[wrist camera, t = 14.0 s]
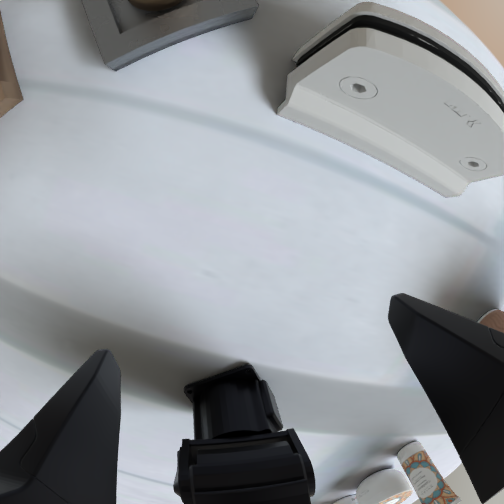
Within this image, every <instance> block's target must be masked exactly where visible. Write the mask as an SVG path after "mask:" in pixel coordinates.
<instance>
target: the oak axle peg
mask: <svg viewBox="0 0 504 504" xmlns="http://www.w3.org/2000/svg"><path fill="white" fill-rule="evenodd" d="M128 1H129V2H130V3H131V4H132V5H133V6H135V7H136V8H139V9H141V10H145V11H160V10H165V9H168V8H171V7H173V6H175V5H177V4H179V3H180V2H181V1H183V0H128Z"/></svg>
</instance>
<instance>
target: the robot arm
mask: <svg viewBox="0 0 504 504" xmlns="http://www.w3.org/2000/svg"><path fill="white" fill-rule="evenodd" d="M388 320H389V323H390V326H391V328H392V330H393V332H394V334H395V336H396V338H397V340H398V343H399V345H400V347H401V349H402V351H403V354H404V356H405V358H406V359H407V361H408V363H409V365H410V366H411V368H412V370H413V372H414V373H415V375H416V377H417V378H418V380H419V382H420V384H421V385H422V387H423V389H424V391H425V392H426V394H427V396H428V398H429V400H430V401H431V403H432V405H433V407H434V409H435V410H436V412H437V414H438V416H439V418H440V420H441V422H442V423H443V425H444V427H445V429H446V431H447V433H448V435H449V437H450V439H451V441H452V443H453V445H454V447H455V448H456V450H457V452H458V454H459V455H460V456H459V457H460V459H461V461H462V463H463V465H464V467H465V469H466V471H467V473H468V475H469V477H470V480H471V482H472V484H473V486H474V488H475V490H476V492H477V495H478V497H479V499H480V501H481V503H482V504H484V503H485V502H487V501H488V500H489V499H491V498H492V497H493V496H495V495H496V494H498V493H499V492H500V491H501V490H503V489H504V333H503V332H500V331H498V330H495V329H493V328H490V327H489V328H488V326H485V325H483V324H480V323H478V322H475V321H473V320H470V319H468V318H465V317H463V316H460V315H458V314H455V313H453V312H450V311H448V310H445V309H443V308H440V307H438V306H435V305H432V304H430V303H427V302H425V301H422V300H420V299H417V298H415V297H412V296H409V295H407V294H404V293H400V294H397V295H393V296H392V297H391V300H390V306H389V313H388ZM246 370H249V371H246ZM189 390H191V391H189ZM184 393H185V394H186V396H187V397H188V398H189V399H190V401H191V402H192V403H193V418H194V440H190V439H182V447H180V450H179V451H178V452H177V458H178V466H177V472H176V477H175V481H174V485H173V487H174V492H175V493H176V494H177V495H179V496H180V497H181V499H182V502H183V503H184V504H311V501H310V497H311V496H313V495H314V493H315V476H314V471H313V467H312V464H311V461H310V459H309V457H308V455H307V453H306V451H305V449H304V447H303V445H302V444H301V442H300V440H299V438H298V436H297V434H296V432H295V430H294V429H293V428H292V429H287V430H286V431H280V430H282V428H283V424H282V421H281V418H280V414H279V411H278V408H277V404H276V401H275V397H274V395H273V393H272V391H271V390H270V388H269V386H268V384H267V382H266V381H265V380H260V378H259V377H258V375H257V373H256V371H255V369H254V368H253V366H252V365H244V366H241V367H239V368H236V369H233V370H230V371H228V372H225V373H222V374H219V375H216V376H214V377H211V378H208V379H205V380H202V381H199V382H196V383H193V384H190V385H187V386H185V387H184ZM120 419H121V374H120V369H119V366H118V364H117V362H116V360H115V358H114V356H113V354H112V353H111V351H110V350H109V349H102V350H97V351H96V352H95V353H94V354H93V355H92V356H91V357H90V358H89V359H88V360H87V361H86V362H85V363H84V364H83V365H82V366H81V367H80V368H79V369H78V370H77V371H76V372H75V373H74V375H73V376H72V377H71V378H70V379H69V380H68V381H67V382H66V383H65V384H64V385H63V386H62V387H61V388H60V389H59V390H58V391H57V393H56V394H55V395H54V396H53V397H52V398H51V399H50V400H49V401H48V402H47V403H46V404H45V405H44V407H43V408H42V409H41V410H40V411H39V412H38V413H37V414H36V415H35V416H34V419H32V420H31V421H30V422H29V423H28V424H27V425H26V426H25V427H24V428H23V429H22V431H21V432H20V433H19V434H18V435H17V436H16V437H15V438H14V439H13V440H12V441H11V442H10V443H9V444H8V445H7V446H6V447H4V448H3V449H2V450H1V451H0V504H116V485H117V461H118V444H119V431H120ZM278 431H280V432H278Z"/></svg>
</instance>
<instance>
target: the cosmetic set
mask: <svg viewBox="0 0 504 504" xmlns="http://www.w3.org/2000/svg"><path fill="white" fill-rule="evenodd" d="M397 458H398V460H399V462H400V464H401V466H402V467H403V469H404V471H405V473H406V474H407V476H408V478H409V480H410V482H411V484H412V485H413V487H414V489H415V491H416V493H417V495H418V497H419V499H420V501H421V503H422V504H458V503H459V502H460V501H461V499H460V498H459V497H458V496H457V495H455V493H454V492H453V491H452V490H451V489H450V487H449V486H448V485H447V483H446V482H445V480H444V479H443V477H442V476H441V474H440V473H439V471H438V470H437V468H436V467H435V465H434V464H433V462H432V461H431V459H430V457H429V456H428V454H427V453H426V451H425V449H424V448H423V446H422V444H421V443H420V442H412V443H409V444H408V445H406V446H404V447H403V448H402V449H401V450H400V451H399V452H398V455H397ZM412 493H413V489H412V487H411V485H410V483H409V481H408V480H407V478H406V476H405V475H404V474H403V473H402V472H401V471H399V470H397V469H385V470H381V471H378V472H376V473H374V474H372V475H370V476H369V477H367V478H366V479H365V480H364V481H363V482H362V483H361V484H360V485H359V487H358V488H357V491H356V495H351V496H347V497H344V498H342V499H340V500H338V501H336V502H334V503H333V504H400V503H402V502H403V501H404V500H406V499H407V498H408V497H409V496H411V494H412Z"/></svg>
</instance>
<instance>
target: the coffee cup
mask: <svg viewBox="0 0 504 504" xmlns="http://www.w3.org/2000/svg"><path fill="white" fill-rule="evenodd" d="M478 323H480V324H483V325H485V326H488V328H489V327H490V328H493V329H495V330H498V331H500V332H503V333H504V312H503V311H501V310H498V309H493V310H490V311H489V312H487V313H486V314H484V315H483V316H482V317H481V318H480V319H479V320H478Z"/></svg>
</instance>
